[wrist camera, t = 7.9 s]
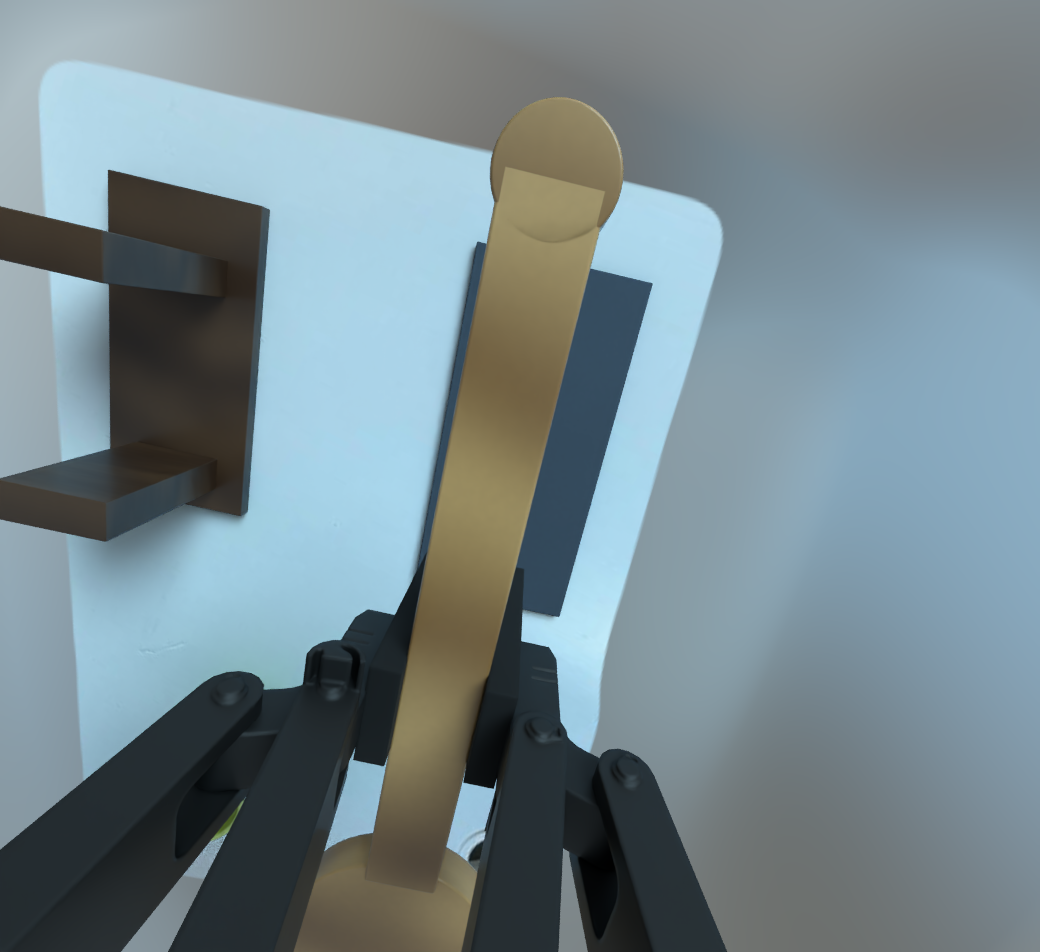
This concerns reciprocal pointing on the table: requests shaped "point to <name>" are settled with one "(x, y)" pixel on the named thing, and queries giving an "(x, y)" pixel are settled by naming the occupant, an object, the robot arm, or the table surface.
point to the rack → (155, 356)
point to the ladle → (475, 532)
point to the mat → (565, 430)
